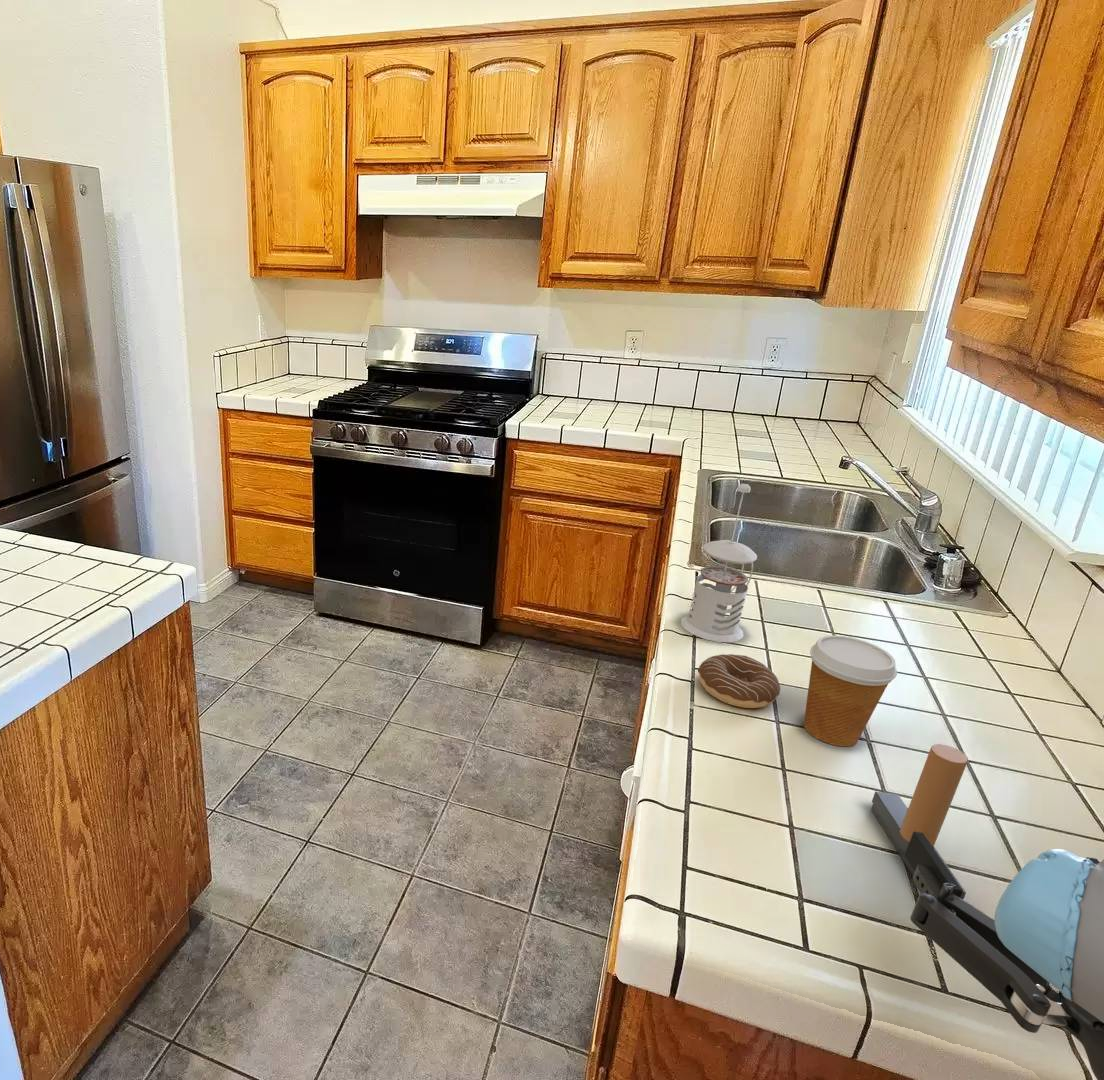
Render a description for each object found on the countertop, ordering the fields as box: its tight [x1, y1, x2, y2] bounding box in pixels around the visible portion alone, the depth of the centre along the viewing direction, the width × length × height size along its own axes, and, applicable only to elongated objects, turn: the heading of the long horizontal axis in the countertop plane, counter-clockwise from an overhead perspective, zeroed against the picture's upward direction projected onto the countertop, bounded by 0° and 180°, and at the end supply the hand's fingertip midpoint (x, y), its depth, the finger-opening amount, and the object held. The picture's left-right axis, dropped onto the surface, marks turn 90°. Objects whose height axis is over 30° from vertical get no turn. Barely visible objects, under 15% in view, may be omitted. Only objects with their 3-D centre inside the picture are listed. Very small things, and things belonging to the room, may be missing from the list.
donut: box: [697, 653, 781, 709], centre depth 106 cm, size 11×11×4 cm
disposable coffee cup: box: [803, 634, 898, 747], centre depth 96 cm, size 10×10×12 cm
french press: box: [680, 483, 758, 643], centre depth 121 cm, size 10×12×25 cm
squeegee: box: [870, 743, 969, 913], centre depth 76 cm, size 3×14×13 cm, turn 170°
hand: (997, 856), depth 65 cm, fingers open, 13 cm apart
